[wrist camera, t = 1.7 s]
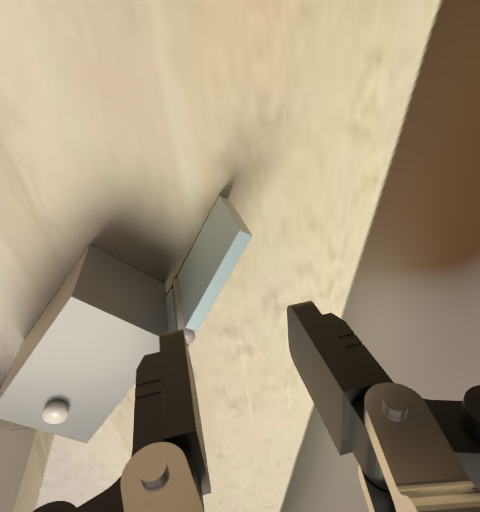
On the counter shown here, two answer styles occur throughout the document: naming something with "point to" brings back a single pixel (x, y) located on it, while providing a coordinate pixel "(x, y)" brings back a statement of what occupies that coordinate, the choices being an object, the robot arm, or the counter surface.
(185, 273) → the side door
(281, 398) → the counter surface
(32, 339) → the block
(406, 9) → the counter surface
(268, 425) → the counter surface
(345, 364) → the robot arm
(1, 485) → the skincare box
